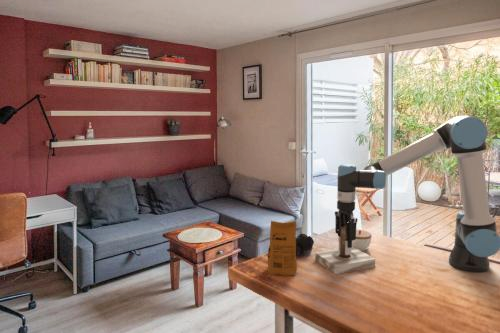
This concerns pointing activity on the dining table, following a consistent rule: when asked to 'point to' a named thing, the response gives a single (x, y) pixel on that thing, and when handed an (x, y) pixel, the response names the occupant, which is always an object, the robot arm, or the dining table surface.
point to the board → (344, 260)
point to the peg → (343, 242)
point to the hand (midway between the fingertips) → (344, 252)
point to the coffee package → (282, 249)
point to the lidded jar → (362, 240)
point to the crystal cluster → (304, 245)
